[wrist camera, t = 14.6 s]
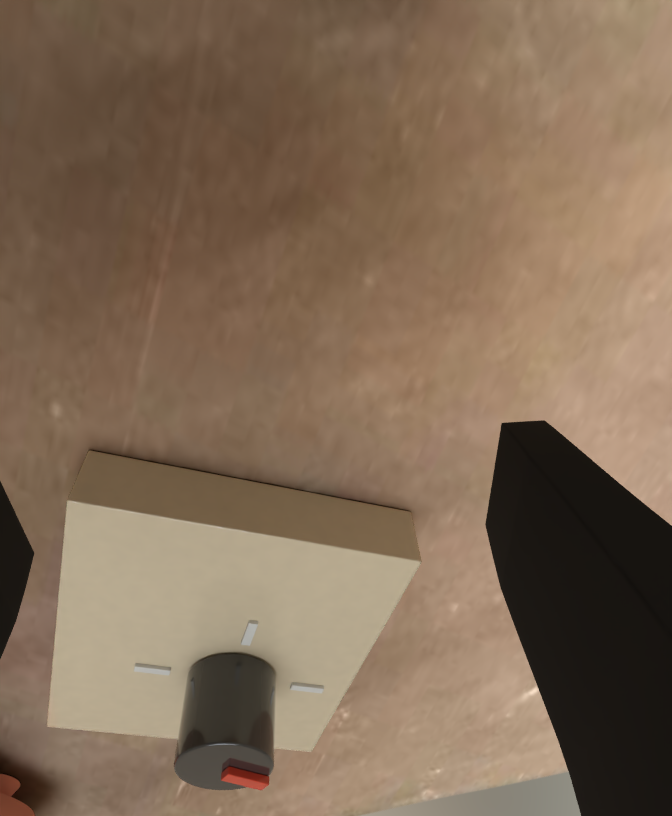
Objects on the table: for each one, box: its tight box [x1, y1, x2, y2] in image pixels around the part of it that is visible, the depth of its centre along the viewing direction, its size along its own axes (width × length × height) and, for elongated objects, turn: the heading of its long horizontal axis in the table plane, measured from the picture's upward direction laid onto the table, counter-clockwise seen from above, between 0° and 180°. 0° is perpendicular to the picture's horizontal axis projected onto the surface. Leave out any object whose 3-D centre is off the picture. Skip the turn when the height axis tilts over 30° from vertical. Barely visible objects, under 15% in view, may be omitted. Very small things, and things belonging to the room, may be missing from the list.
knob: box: [174, 654, 276, 790], centre depth 24 cm, size 4×4×4 cm
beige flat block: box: [47, 450, 422, 752], centre depth 25 cm, size 14×12×3 cm
